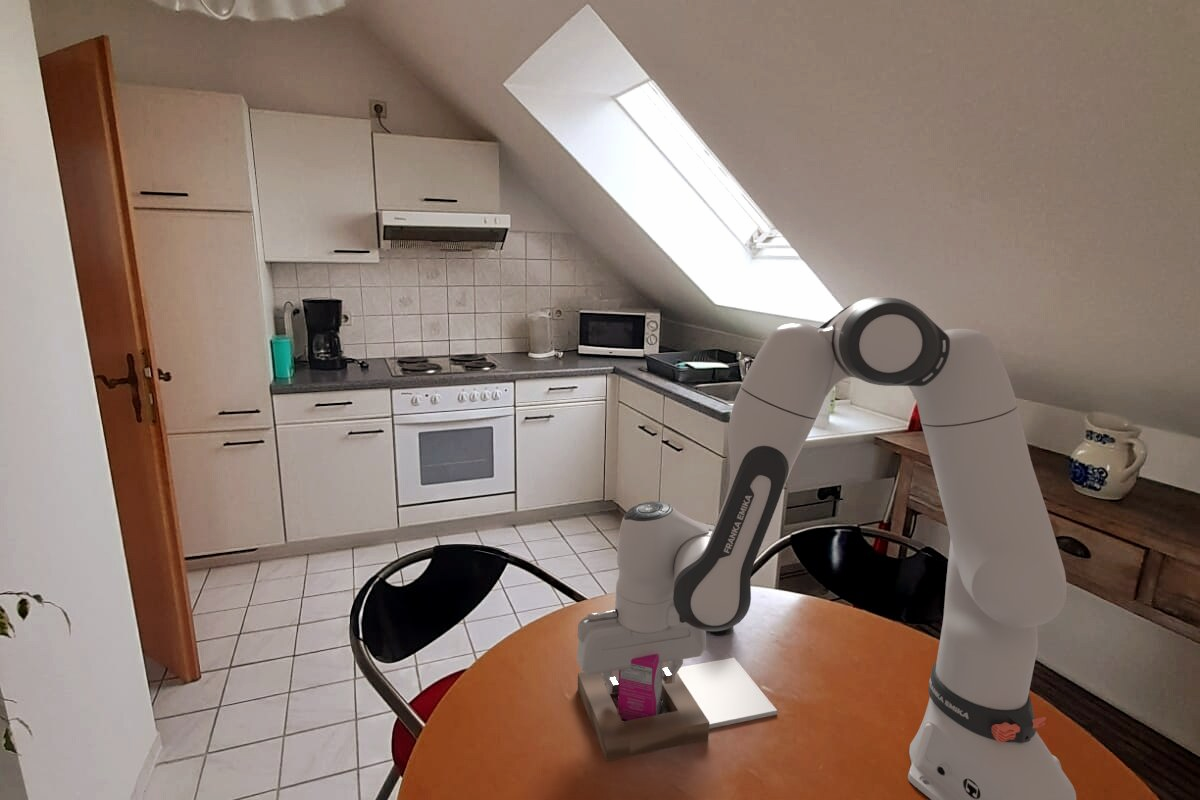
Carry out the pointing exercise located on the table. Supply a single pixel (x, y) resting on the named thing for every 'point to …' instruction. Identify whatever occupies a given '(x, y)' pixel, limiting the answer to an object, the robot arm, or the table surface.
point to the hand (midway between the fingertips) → (640, 686)
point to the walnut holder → (642, 719)
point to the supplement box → (640, 688)
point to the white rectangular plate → (725, 692)
